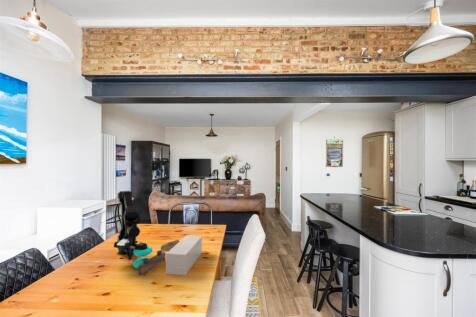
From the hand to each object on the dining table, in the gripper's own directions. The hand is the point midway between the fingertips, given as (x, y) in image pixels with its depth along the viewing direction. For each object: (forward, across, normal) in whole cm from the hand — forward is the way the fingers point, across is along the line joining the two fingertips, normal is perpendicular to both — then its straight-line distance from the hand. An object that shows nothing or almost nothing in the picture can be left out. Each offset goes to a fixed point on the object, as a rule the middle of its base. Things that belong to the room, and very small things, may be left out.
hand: (130, 260), depth 140 cm
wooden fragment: (+3, +4, +35) cm, 35 cm away
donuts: (+2, +8, 0) cm, 9 cm away
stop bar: (+2, +15, 0) cm, 15 cm away
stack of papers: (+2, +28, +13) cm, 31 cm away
